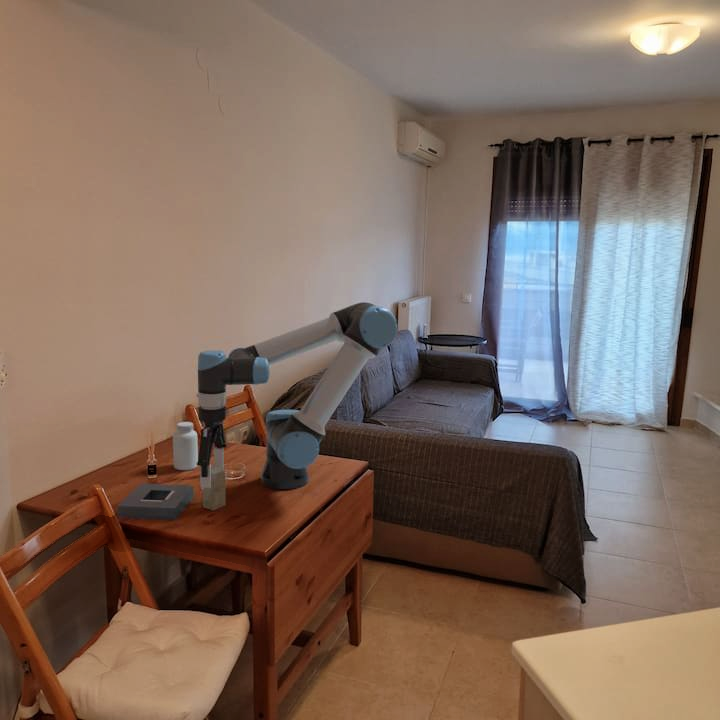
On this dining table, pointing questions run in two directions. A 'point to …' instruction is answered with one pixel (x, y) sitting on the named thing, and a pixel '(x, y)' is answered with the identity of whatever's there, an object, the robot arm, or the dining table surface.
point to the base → (156, 501)
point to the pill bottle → (185, 447)
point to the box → (215, 490)
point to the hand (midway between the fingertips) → (212, 478)
